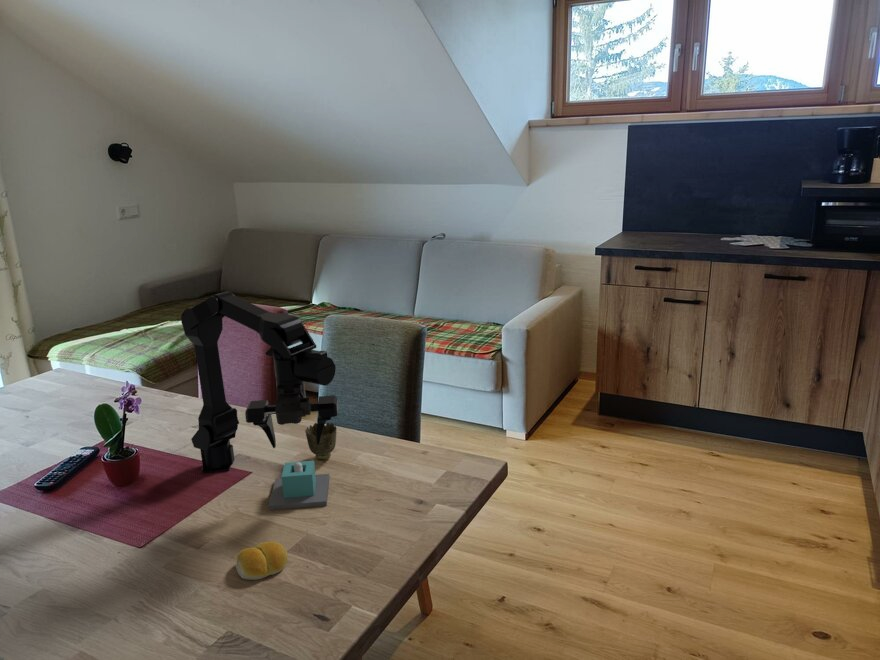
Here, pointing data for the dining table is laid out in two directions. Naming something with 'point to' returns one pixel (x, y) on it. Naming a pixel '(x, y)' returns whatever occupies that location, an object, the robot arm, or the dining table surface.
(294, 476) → the teal block with hole
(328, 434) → the cup
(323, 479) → the post stand
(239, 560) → the bread roll
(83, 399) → the dining table surface
